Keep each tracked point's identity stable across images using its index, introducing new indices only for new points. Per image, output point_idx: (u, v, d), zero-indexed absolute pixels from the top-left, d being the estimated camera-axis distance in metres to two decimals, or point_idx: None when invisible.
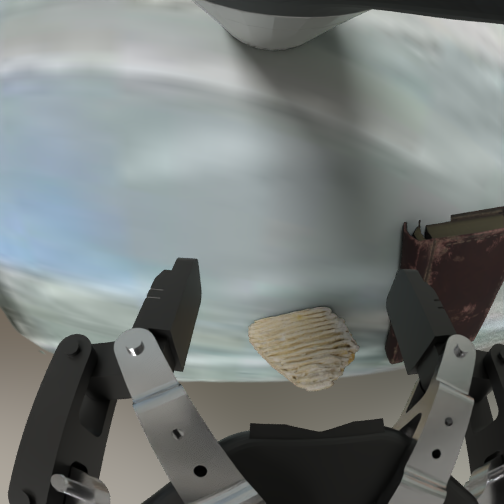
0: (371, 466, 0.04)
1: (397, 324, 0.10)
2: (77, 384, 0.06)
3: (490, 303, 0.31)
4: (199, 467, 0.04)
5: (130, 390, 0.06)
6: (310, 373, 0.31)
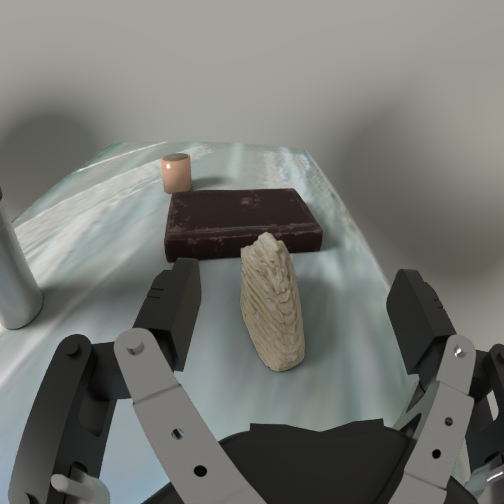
0: (371, 466, 0.04)
1: (397, 324, 0.10)
2: (77, 384, 0.06)
3: (244, 190, 0.57)
4: (199, 467, 0.04)
5: (131, 390, 0.06)
6: (257, 257, 0.29)
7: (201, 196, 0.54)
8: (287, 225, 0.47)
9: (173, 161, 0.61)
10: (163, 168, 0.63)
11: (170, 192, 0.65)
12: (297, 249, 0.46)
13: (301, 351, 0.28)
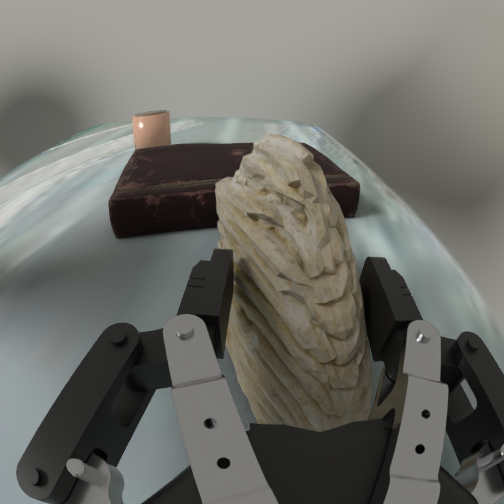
0: (354, 473, 0.04)
1: (365, 311, 0.11)
2: (116, 374, 0.06)
3: (235, 143, 0.39)
4: (199, 467, 0.04)
5: (171, 374, 0.06)
6: (252, 184, 0.11)
7: (174, 150, 0.36)
8: None
9: (146, 116, 0.43)
10: (134, 126, 0.45)
11: None
12: None
13: None
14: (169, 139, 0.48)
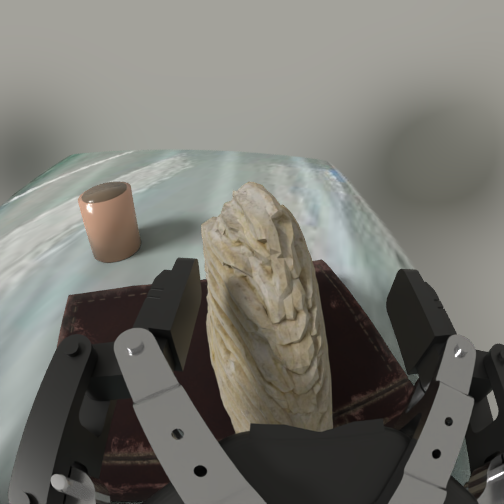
0: (371, 466, 0.04)
1: (397, 324, 0.10)
2: (77, 384, 0.06)
3: None
4: (199, 467, 0.04)
5: (130, 391, 0.06)
6: (229, 234, 0.13)
7: (124, 309, 0.22)
8: (346, 405, 0.16)
9: (94, 203, 0.28)
10: (82, 215, 0.30)
11: (100, 258, 0.33)
12: None
13: None
14: (134, 230, 0.34)
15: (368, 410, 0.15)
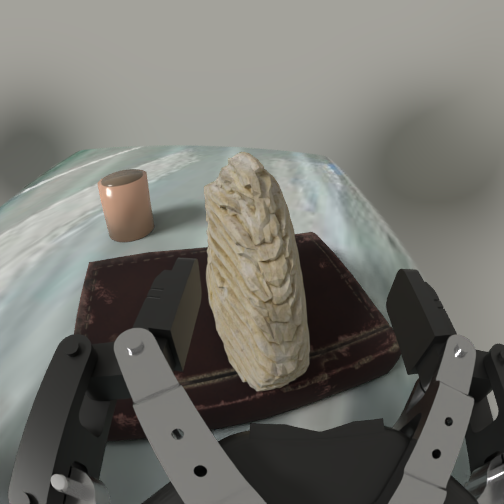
0: (371, 466, 0.04)
1: (397, 324, 0.10)
2: (77, 384, 0.06)
3: None
4: (199, 467, 0.04)
5: (130, 390, 0.06)
6: (224, 187, 0.17)
7: (140, 270, 0.26)
8: (334, 343, 0.20)
9: (114, 186, 0.32)
10: (101, 198, 0.34)
11: (116, 238, 0.36)
12: (354, 386, 0.20)
13: (304, 355, 0.15)
14: (149, 212, 0.38)
15: (353, 348, 0.19)
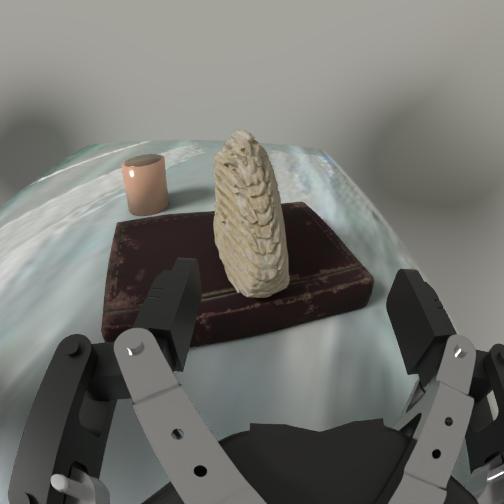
0: (371, 466, 0.04)
1: (397, 324, 0.10)
2: (77, 384, 0.06)
3: None
4: (199, 467, 0.04)
5: (130, 390, 0.06)
6: (227, 152, 0.24)
7: (161, 227, 0.33)
8: (316, 274, 0.27)
9: (137, 167, 0.39)
10: (124, 177, 0.40)
11: (136, 212, 0.43)
12: (335, 313, 0.26)
13: (282, 267, 0.22)
14: (165, 190, 0.44)
15: (332, 278, 0.26)
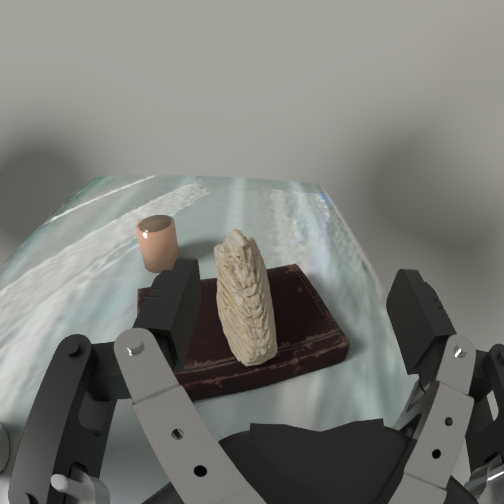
0: (371, 466, 0.04)
1: (397, 324, 0.10)
2: (77, 384, 0.06)
3: None
4: (199, 467, 0.04)
5: (130, 391, 0.06)
6: (226, 253, 0.30)
7: None
8: (303, 341, 0.33)
9: (151, 232, 0.45)
10: (139, 240, 0.47)
11: (152, 270, 0.49)
12: None
13: (271, 345, 0.29)
14: (177, 249, 0.51)
15: (315, 344, 0.33)
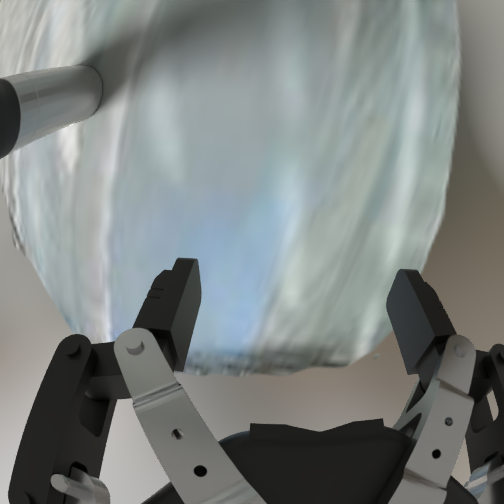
0: (371, 466, 0.04)
1: (397, 324, 0.10)
2: (77, 384, 0.06)
3: None
4: (199, 467, 0.04)
5: (130, 390, 0.06)
6: None
7: None
8: None
9: None
10: None
11: None
12: None
13: None
14: None
15: None
